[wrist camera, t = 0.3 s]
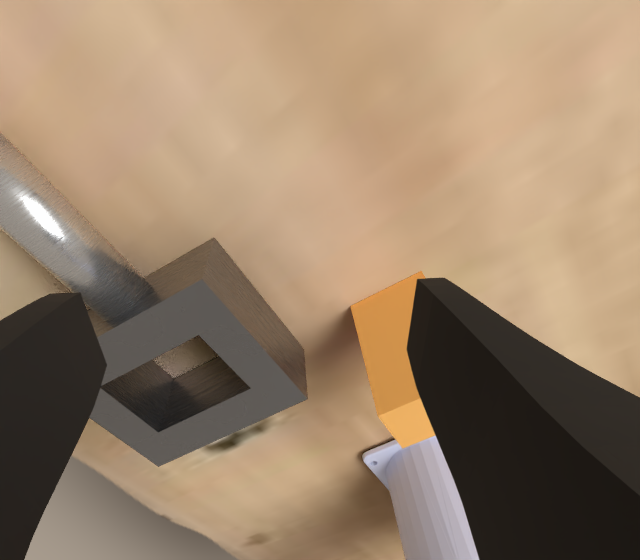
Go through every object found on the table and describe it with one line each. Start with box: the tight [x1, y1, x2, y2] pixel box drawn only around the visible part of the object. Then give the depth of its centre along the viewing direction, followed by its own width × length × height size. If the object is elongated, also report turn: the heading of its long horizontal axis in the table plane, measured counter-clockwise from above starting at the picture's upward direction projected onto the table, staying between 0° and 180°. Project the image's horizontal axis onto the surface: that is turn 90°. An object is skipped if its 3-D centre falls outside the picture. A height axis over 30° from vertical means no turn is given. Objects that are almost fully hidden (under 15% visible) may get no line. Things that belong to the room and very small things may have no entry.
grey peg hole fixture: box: [0, 132, 308, 467], centre depth 18 cm, size 16×9×4 cm, turn 29°
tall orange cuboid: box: [351, 271, 435, 449], centre depth 19 cm, size 2×4×7 cm, turn 119°
